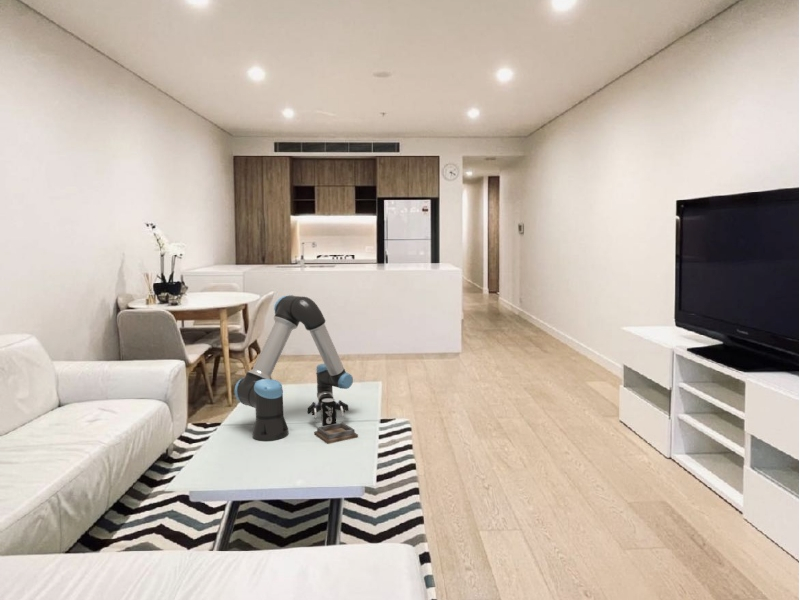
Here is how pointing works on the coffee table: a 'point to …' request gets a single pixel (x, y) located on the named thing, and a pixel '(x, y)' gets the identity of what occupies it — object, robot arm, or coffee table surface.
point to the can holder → (335, 433)
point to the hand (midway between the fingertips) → (329, 414)
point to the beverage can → (328, 411)
